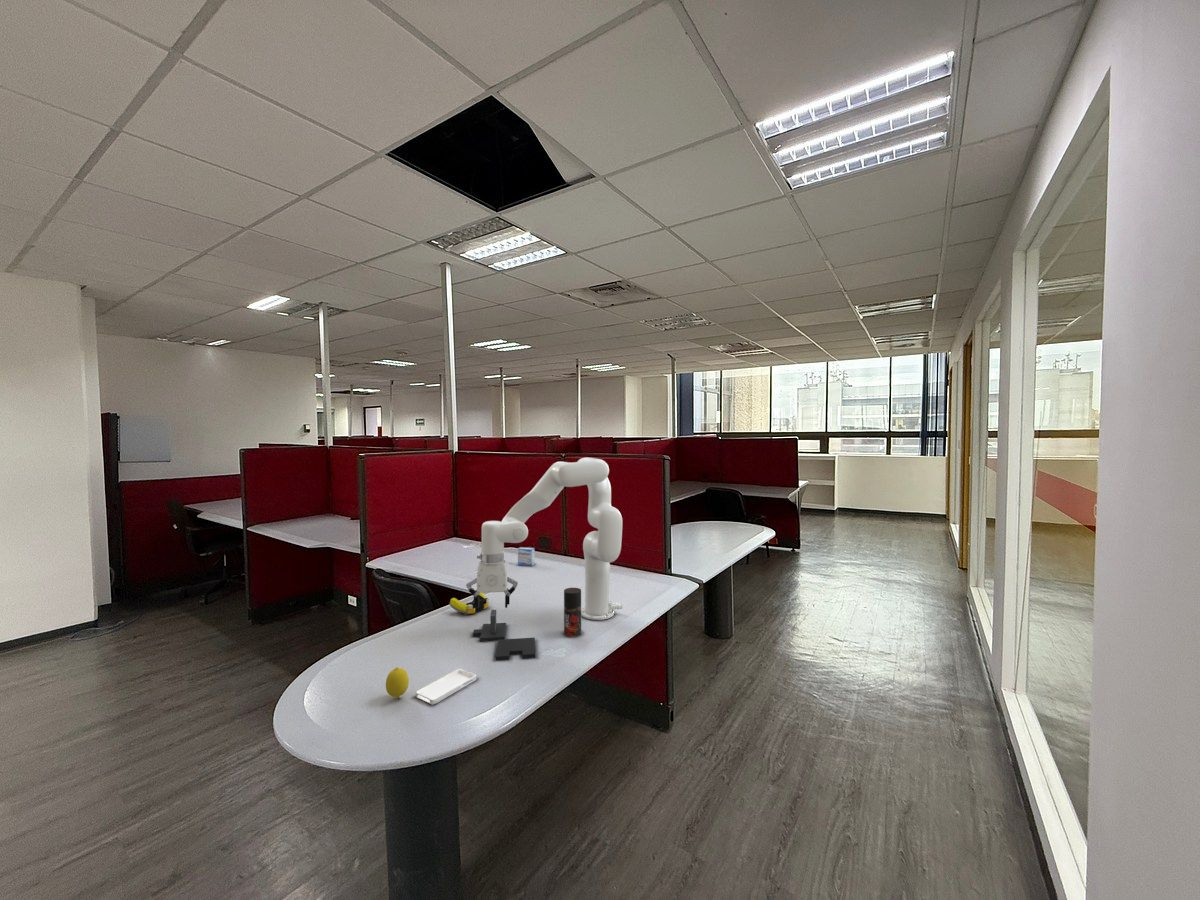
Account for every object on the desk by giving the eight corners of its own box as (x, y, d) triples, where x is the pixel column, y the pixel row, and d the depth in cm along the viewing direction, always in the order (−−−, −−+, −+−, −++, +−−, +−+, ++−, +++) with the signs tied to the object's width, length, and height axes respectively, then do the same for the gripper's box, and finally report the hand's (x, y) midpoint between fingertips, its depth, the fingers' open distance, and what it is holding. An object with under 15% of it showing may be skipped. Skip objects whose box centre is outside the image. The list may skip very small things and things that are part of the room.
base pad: (534, 640, 159) (534, 637, 159) (535, 657, 147) (535, 653, 147) (498, 643, 157) (498, 639, 157) (495, 660, 145) (495, 656, 145)
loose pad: (475, 627, 169) (475, 607, 169) (506, 625, 171) (505, 605, 171) (471, 642, 158) (471, 620, 157) (504, 640, 159) (504, 618, 159)
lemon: (390, 692, 127) (389, 663, 127) (411, 691, 128) (411, 662, 127) (382, 704, 122) (382, 673, 121) (405, 703, 122) (404, 672, 122)
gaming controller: (447, 612, 183) (464, 618, 178) (447, 598, 183) (464, 603, 177) (477, 601, 196) (494, 606, 190) (477, 588, 196) (494, 592, 190)
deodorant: (583, 631, 166) (583, 588, 166) (577, 638, 161) (577, 594, 160) (568, 628, 168) (568, 586, 168) (561, 635, 163) (561, 592, 162)
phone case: (459, 672, 138) (414, 697, 125) (459, 667, 138) (414, 691, 125) (477, 679, 134) (433, 705, 121) (477, 674, 134) (433, 700, 121)
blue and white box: (517, 565, 249) (517, 548, 248) (520, 563, 253) (520, 546, 253) (532, 566, 247) (532, 549, 247) (534, 563, 252) (534, 547, 251)
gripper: (465, 561, 158) (464, 612, 159) (518, 559, 161) (517, 610, 162) (467, 555, 166) (467, 604, 166) (518, 554, 168) (517, 602, 169)
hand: (492, 607), depth 164 cm, fingers open, 9 cm apart
